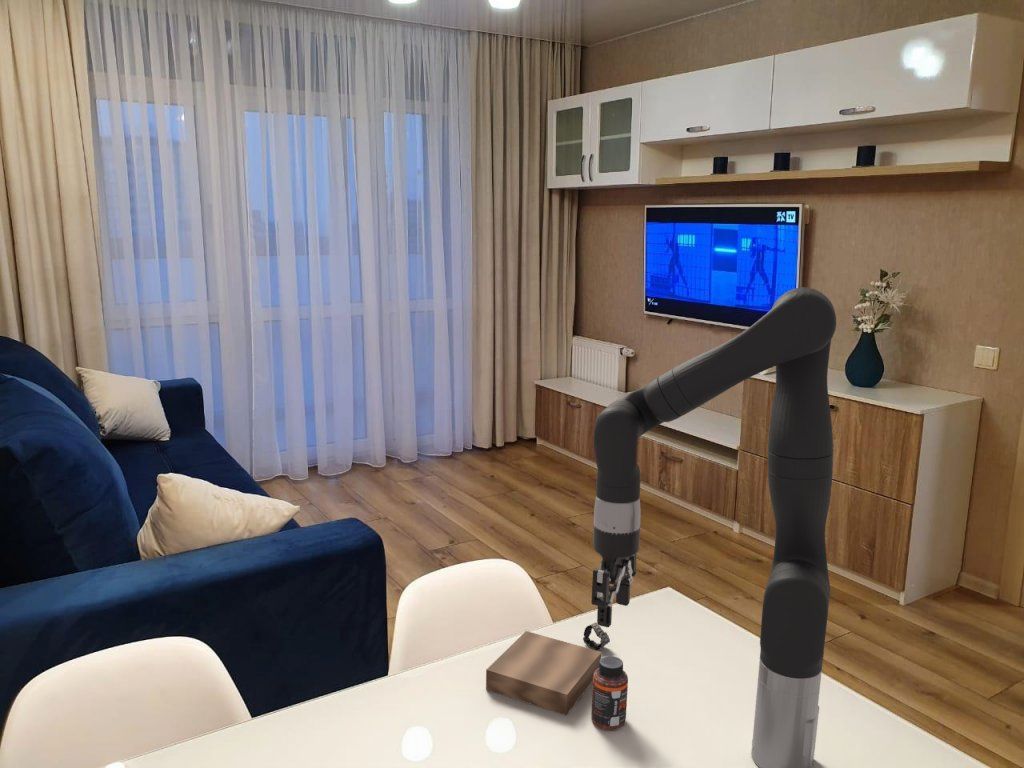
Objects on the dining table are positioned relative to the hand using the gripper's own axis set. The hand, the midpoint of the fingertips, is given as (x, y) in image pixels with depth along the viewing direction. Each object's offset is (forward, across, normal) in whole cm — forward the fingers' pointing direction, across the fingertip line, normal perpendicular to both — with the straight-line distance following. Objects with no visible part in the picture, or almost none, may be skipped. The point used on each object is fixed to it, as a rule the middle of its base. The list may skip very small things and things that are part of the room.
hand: (613, 614), depth 137 cm
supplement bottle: (+20, 0, 0) cm, 20 cm away
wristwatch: (+20, +22, +11) cm, 32 cm away
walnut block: (+20, +6, +15) cm, 26 cm away
